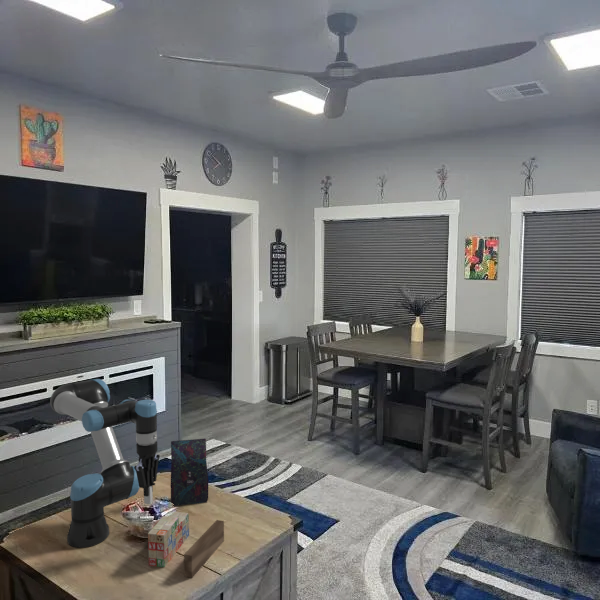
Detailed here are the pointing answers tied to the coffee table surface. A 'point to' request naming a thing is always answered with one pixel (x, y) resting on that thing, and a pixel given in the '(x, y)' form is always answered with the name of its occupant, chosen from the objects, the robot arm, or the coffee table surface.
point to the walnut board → (203, 548)
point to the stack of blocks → (167, 538)
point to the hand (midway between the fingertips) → (148, 502)
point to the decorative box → (189, 472)
